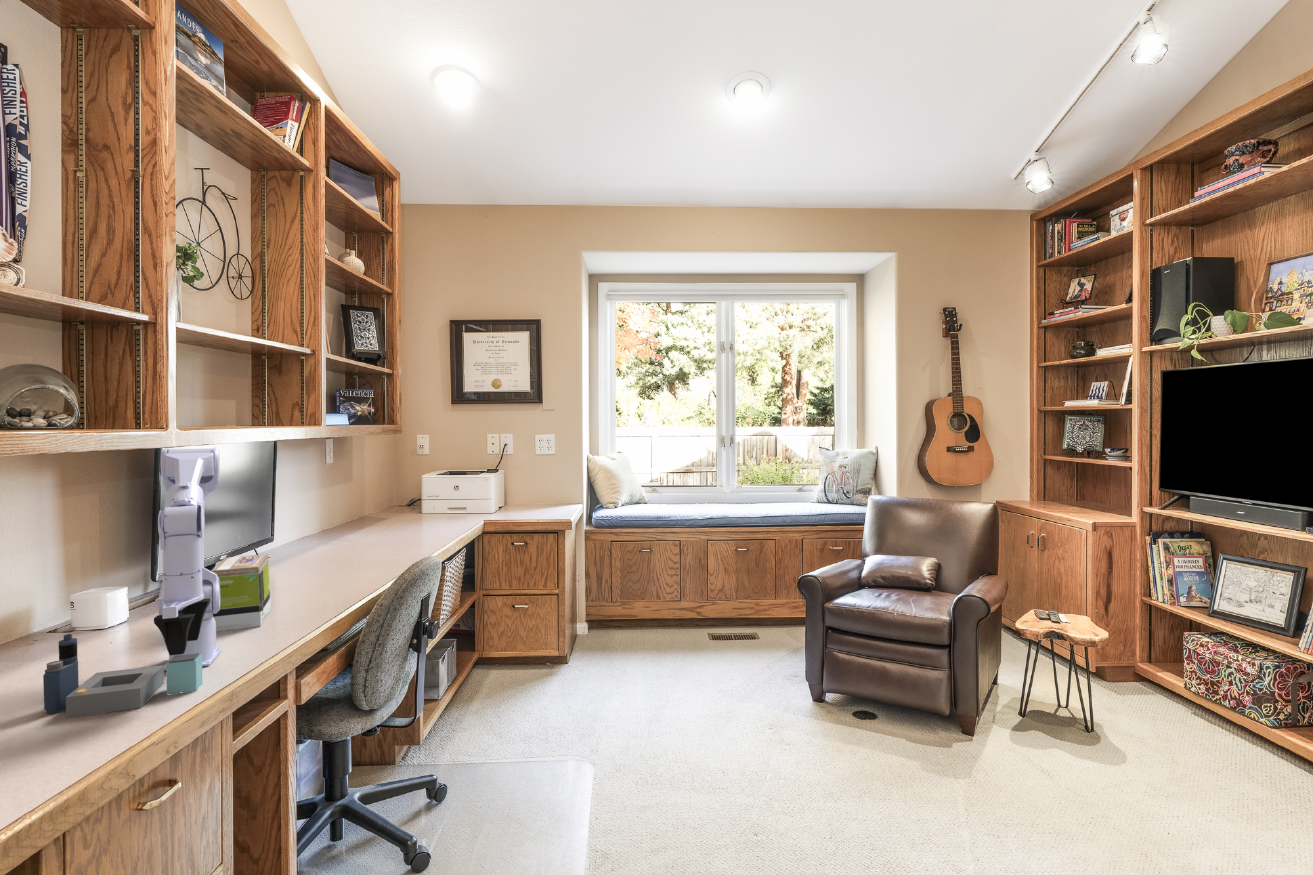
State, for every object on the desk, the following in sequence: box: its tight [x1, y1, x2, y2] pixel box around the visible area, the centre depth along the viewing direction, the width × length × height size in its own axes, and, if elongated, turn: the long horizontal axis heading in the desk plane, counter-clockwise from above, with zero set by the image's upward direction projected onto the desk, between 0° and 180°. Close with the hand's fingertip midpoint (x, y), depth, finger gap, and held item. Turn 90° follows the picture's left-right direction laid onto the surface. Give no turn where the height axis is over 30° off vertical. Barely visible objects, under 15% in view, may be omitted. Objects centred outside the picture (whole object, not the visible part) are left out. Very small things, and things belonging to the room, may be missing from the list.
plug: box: [165, 653, 203, 695], centre depth 116 cm, size 4×4×6 cm
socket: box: [65, 664, 165, 719], centre depth 112 cm, size 11×10×4 cm
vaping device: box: [42, 633, 80, 715], centre depth 109 cm, size 3×5×12 cm, turn 2°
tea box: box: [210, 553, 272, 633], centre depth 156 cm, size 15×10×15 cm, turn 23°
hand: (184, 647), depth 116 cm, fingers open, 7 cm apart
